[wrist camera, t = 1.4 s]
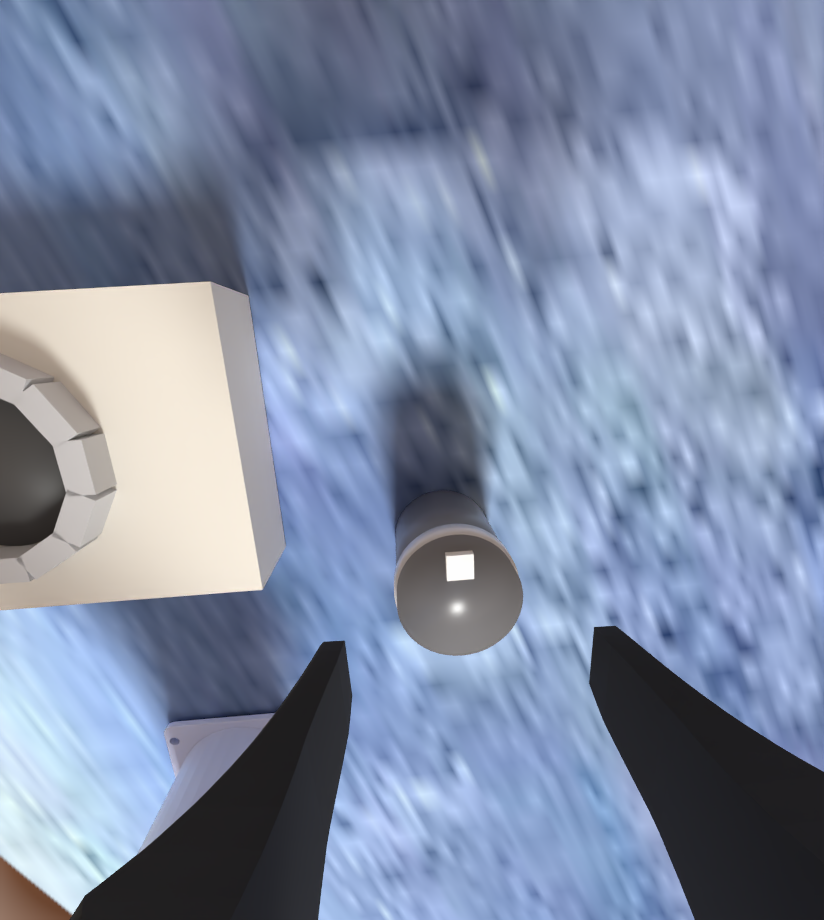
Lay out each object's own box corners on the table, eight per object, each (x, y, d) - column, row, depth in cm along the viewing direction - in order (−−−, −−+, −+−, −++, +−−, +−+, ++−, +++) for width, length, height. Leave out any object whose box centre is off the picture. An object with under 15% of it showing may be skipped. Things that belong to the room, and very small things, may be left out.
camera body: (285, 546, 21) (253, 606, 16) (-79, 573, 21) (-228, 644, 16) (248, 295, 18) (194, 275, 13) (-181, 319, 18) (-405, 308, 13)
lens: (490, 573, 22) (527, 657, 16) (397, 581, 22) (399, 668, 16) (489, 485, 21) (528, 539, 15) (389, 492, 21) (389, 550, 15)
